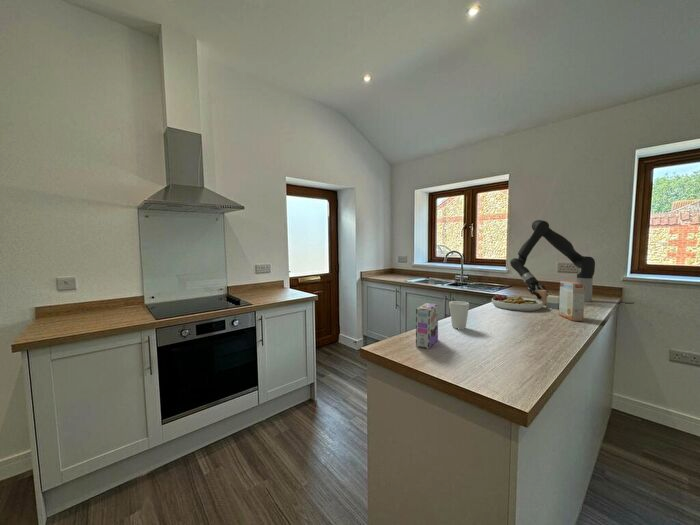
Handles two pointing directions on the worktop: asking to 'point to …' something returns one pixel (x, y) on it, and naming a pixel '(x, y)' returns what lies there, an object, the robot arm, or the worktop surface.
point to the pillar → (543, 296)
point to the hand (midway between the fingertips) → (544, 298)
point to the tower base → (552, 305)
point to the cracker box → (571, 300)
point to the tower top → (553, 299)
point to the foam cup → (459, 313)
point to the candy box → (426, 325)
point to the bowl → (516, 303)
